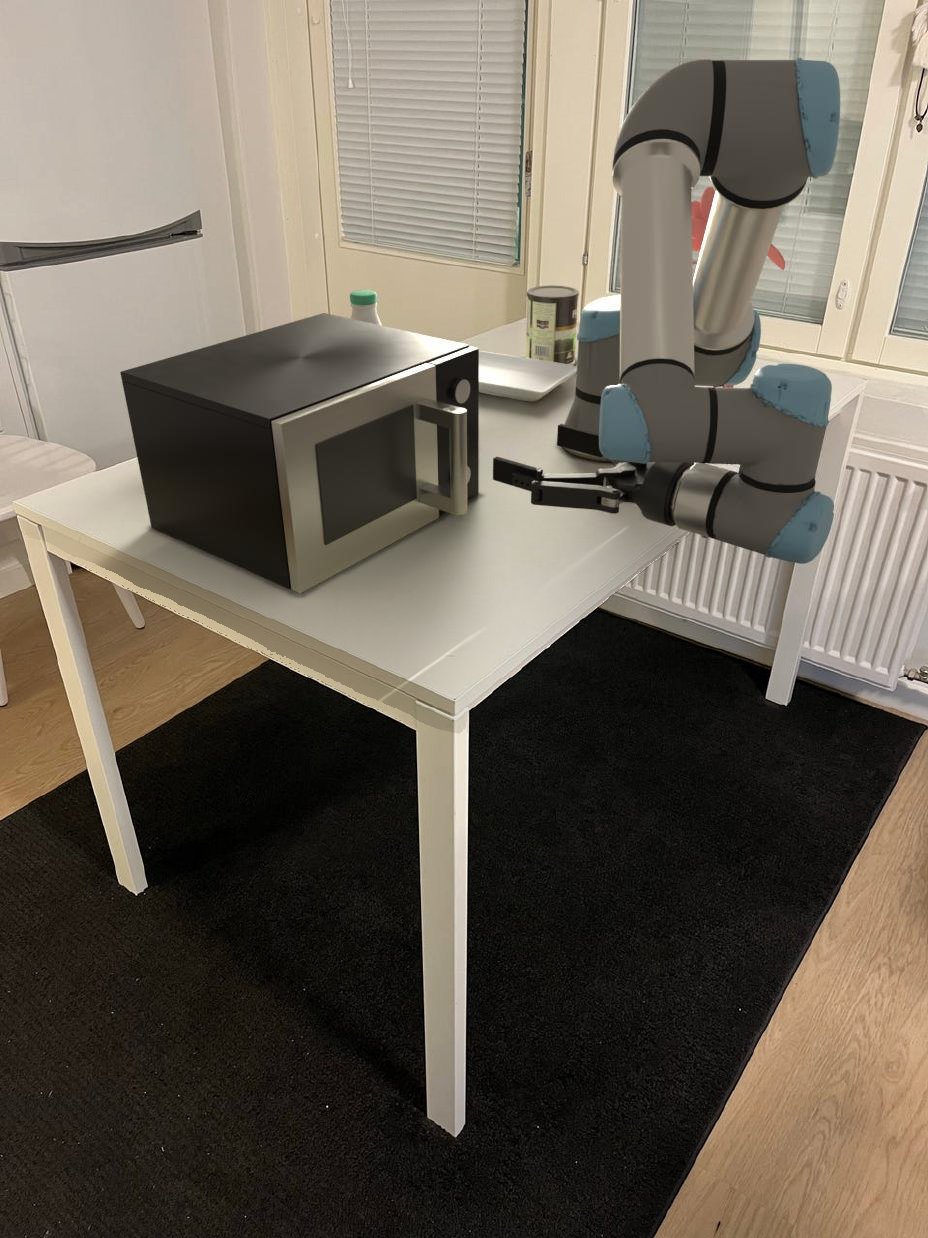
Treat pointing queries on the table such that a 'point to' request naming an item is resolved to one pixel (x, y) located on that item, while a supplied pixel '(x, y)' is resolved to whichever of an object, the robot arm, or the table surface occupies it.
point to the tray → (520, 376)
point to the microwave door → (365, 472)
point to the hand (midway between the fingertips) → (527, 450)
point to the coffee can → (552, 323)
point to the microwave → (268, 424)
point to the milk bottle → (364, 306)
